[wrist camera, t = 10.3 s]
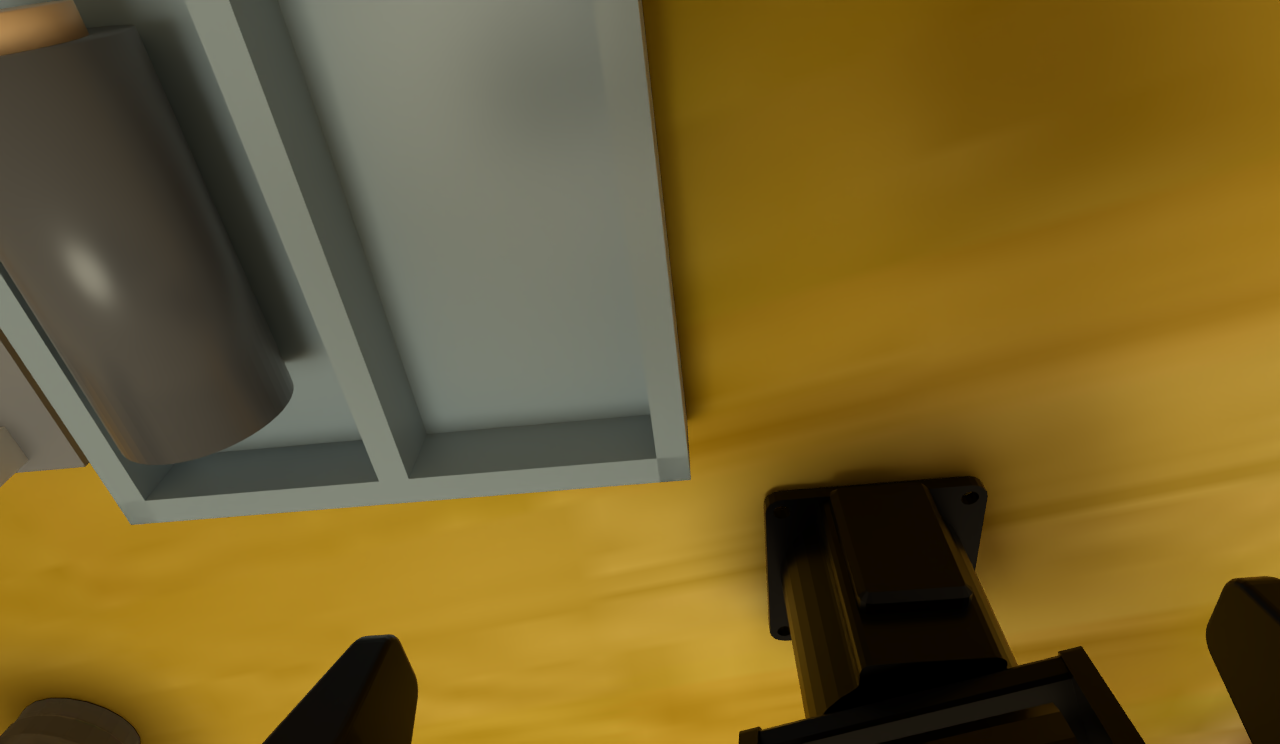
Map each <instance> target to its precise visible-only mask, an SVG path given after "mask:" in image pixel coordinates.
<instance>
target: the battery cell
mask: <svg viewBox="0 0 1280 744" xmlns="http://www.w3.org/2000/svg"><path fill="white" fill-rule="evenodd" d="M0 261H1V263H2V264H3V266H4V267H5V269H6V271H7V272H8V274H9V275H10V277H11V279H12V280H13V282H14V283H15V285H16V286H17V288H18V290H19V291H20V293H21V294H22V296H23V298H24V299H25V301H26V302H27V304H28V306H29V307H30V309H31V310H32V312H33V313H34V315H35V317H36V318H37V320H38V321H39V323H40V325H41V326H42V328H43V329H44V331H45V333H46V334H47V336H48V337H49V339H50V340H51V342H52V344H53V345H54V347H55V348H56V350H57V352H58V353H59V355H60V356H61V358H62V360H63V361H64V363H65V364H66V366H67V367H68V369H69V371H70V372H71V374H72V375H73V377H74V379H75V380H76V382H77V383H78V385H79V387H80V388H81V390H82V391H83V393H84V394H85V396H86V398H87V399H88V401H89V402H90V404H91V406H92V407H93V409H94V410H95V412H96V414H97V415H98V417H99V418H100V420H101V421H102V423H103V425H104V426H105V428H106V429H107V431H108V433H109V434H110V436H111V437H112V439H113V441H114V442H115V444H116V445H117V447H118V449H119V450H120V452H121V453H122V455H123V456H124V457H126V458H127V459H129V460H130V461H133V462H136V463H139V464H146V465H166V464H175V463H181V462H186V461H190V460H194V459H198V458H201V457H205V456H208V455H210V454H213V453H216V452H219V451H221V450H223V449H226V448H228V447H230V446H232V445H235V444H237V443H239V442H241V441H243V440H244V439H246V438H248V437H250V436H251V435H253V434H255V433H256V432H258V431H259V430H261V429H262V428H263V427H265V426H266V425H267V424H269V423H270V422H271V421H272V420H273V419H275V418H276V417H277V416H278V415H279V414H280V413H281V412H282V411H283V410H284V408H285V407H286V406H287V404H288V403H289V401H290V399H291V397H292V394H293V391H294V385H293V381H292V379H291V376H290V374H289V372H288V369H287V367H286V365H285V363H284V360H283V358H282V356H281V354H280V351H279V349H278V347H277V345H276V342H275V340H274V338H273V336H272V333H271V331H270V329H269V327H268V324H267V322H266V320H265V318H264V315H263V313H262V311H261V309H260V306H259V304H258V302H257V299H256V297H255V295H254V293H253V290H252V288H251V286H250V284H249V281H248V279H247V277H246V275H245V272H244V270H243V268H242V266H241V263H240V261H239V259H238V257H237V254H236V252H235V250H234V248H233V245H232V243H231V241H230V239H229V236H228V234H227V232H226V229H225V227H224V225H223V223H222V220H221V218H220V216H219V214H218V211H217V209H216V207H215V205H214V202H213V200H212V198H211V196H210V193H209V191H208V189H207V187H206V184H205V182H204V180H203V178H202V175H201V173H200V171H199V169H198V166H197V164H196V162H195V159H194V157H193V155H192V153H191V150H190V148H189V146H188V144H187V141H186V139H185V137H184V135H183V132H182V130H181V128H180V126H179V123H178V121H177V119H176V117H175V114H174V112H173V110H172V108H171V105H170V103H169V101H168V99H167V96H166V94H165V92H164V89H163V87H162V85H161V83H160V80H159V78H158V76H157V74H156V71H155V69H154V67H153V65H152V62H151V60H150V58H149V56H148V53H147V51H146V49H145V47H144V44H143V42H142V40H141V38H140V35H139V33H138V31H137V29H136V26H135V25H112V26H102V27H94V28H86V26H85V24H84V22H83V20H82V18H81V16H80V13H79V11H78V9H77V7H76V5H75V3H74V1H73V0H59V1H51V2H43V3H36V4H29V5H22V6H16V7H10V8H3V9H0Z"/></svg>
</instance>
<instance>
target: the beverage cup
mask: <svg viewBox="0 0 1280 744" xmlns="http://www.w3.org/2000/svg"><path fill="white" fill-rule="evenodd" d="M0 744H140V737H139V736H138V734H137V732H136V731H135V729H134V728H133V727H132V726H131V725H130V724H129V723H128V722H126V721H125V720H124V719H123V718H122V717H120V716H118V715H116V714H114V713H113V712H111V711H109V710H107V709H105V708H102V707H99V706H96V705H94V704H91V703H88V702H83V701H78V700H72V699H54V698H50V699H45V700H40V701H36V702H34V703H32V704H31V705H29V706H28V707H26V708H25V709H24V711H23V712H22V713H21V715H20V716H19V717H18V719H17V720H16V721H15V722H14V723H13V724H11V725H10V726H9V727H8V729H7V730H6V731H5V732H4V733H3V734H2V735H1V736H0Z"/></svg>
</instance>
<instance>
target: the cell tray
mask: <svg viewBox="0 0 1280 744" xmlns="http://www.w3.org/2000/svg"><path fill="white" fill-rule="evenodd" d="M51 1H59V0H0V9H3V8H10V7H16V6H22V5H29V4H36V3H43V2H51ZM73 1H74V3H75V5H76V7H77V9H78V11H79V13H80V16H81V18H82V20H83V22H84V24H85V26H86V28H94V27H102V26H112V25H135V26H136V29H137V31H138V33H139V35H140V38H141V40H142V42H143V44H144V47H145V49H146V51H147V53H148V56H149V58H150V60H151V62H152V65H153V67H154V69H155V71H156V74H157V76H158V78H159V80H160V83H161V85H162V87H163V89H164V92H165V94H166V96H167V99H168V101H169V103H170V105H171V108H172V110H173V112H174V114H175V117H176V119H177V121H178V123H179V126H180V128H181V130H182V132H183V135H184V137H185V139H186V141H187V144H188V146H189V148H190V150H191V153H192V155H193V157H194V159H195V162H196V164H197V166H198V169H199V171H200V173H201V175H202V178H203V180H204V182H205V184H206V187H207V189H208V191H209V193H210V196H211V198H212V200H213V202H214V205H215V207H216V209H217V211H218V214H219V216H220V218H221V220H222V223H223V225H224V227H225V229H226V232H227V234H228V236H229V239H230V241H231V243H232V245H233V248H234V250H235V252H236V254H237V257H238V259H239V261H240V263H241V266H242V268H243V270H244V272H245V275H246V277H247V279H248V281H249V284H250V286H251V288H252V290H253V293H254V295H255V297H256V299H257V302H258V304H259V306H260V309H261V311H262V313H263V315H264V318H265V320H266V322H267V324H268V327H269V329H270V331H271V333H272V336H273V338H274V340H275V342H276V345H277V347H278V349H279V351H280V354H281V356H282V358H283V360H284V363H285V365H286V367H287V369H288V372H289V374H290V376H291V379H292V381H293V385H294V391H293V394H292V397H291V399H290V401H289V403H288V404H287V406H286V407H285V408H284V410H283V411H282V412H281V413H280V414H279V415H278V416H277V417H276V418H275V419H273V420H272V421H271V422H270V423H269V424H267V425H266V426H265V427H263V428H262V429H261V430H259V431H258V432H256V433H255V434H253V435H251V436H250V437H248V438H246V439H244V440H243V441H241V442H239V443H237V444H235V445H232V446H230V447H228V448H226V449H223V450H221V451H219V452H216V453H213V454H210V455H208V456H205V457H201V458H198V459H194V460H190V461H186V462H181V463H175V464H166V465H146V464H139V463H136V462H133V461H130V460H129V459H127V458H126V457H124V456H123V455H122V453H121V452H120V450H119V449H118V447H117V445H116V444H115V442H114V441H113V439H112V437H111V436H110V434H109V433H108V431H107V429H106V428H105V426H104V425H103V423H102V421H101V420H100V418H99V417H98V415H97V414H96V412H95V410H94V409H93V407H92V406H91V404H90V402H89V401H88V399H87V398H86V396H85V394H84V393H83V391H82V390H81V388H80V387H79V385H78V383H77V382H76V380H75V379H74V377H73V375H72V374H71V372H70V371H69V369H68V367H67V366H66V364H65V363H64V361H63V360H62V358H61V356H60V355H59V353H58V352H57V350H56V348H55V347H54V345H53V344H52V342H51V340H50V339H49V337H48V336H47V334H46V333H45V331H44V329H43V328H42V326H41V325H40V323H39V321H38V320H37V318H36V317H35V315H34V313H33V312H32V310H31V309H30V307H29V306H28V304H27V302H26V301H25V299H24V298H23V296H22V294H21V293H20V291H19V290H18V288H17V286H16V285H15V283H14V282H13V280H12V279H11V277H10V275H9V274H8V272H7V271H6V269H5V267H4V266H3V264H2V263H1V261H0V328H1V330H2V331H3V333H4V334H5V336H6V337H7V339H8V340H9V342H10V343H11V345H12V346H13V348H14V349H15V351H16V352H17V354H18V355H19V357H20V358H21V360H22V361H23V363H24V364H25V366H26V367H27V369H28V370H29V372H30V373H31V375H32V376H33V378H34V379H35V381H36V382H37V384H38V385H39V387H40V388H41V390H42V391H43V393H44V394H45V396H46V397H47V399H48V400H49V402H50V403H51V405H52V406H53V408H54V409H55V411H56V412H57V414H58V415H59V417H60V418H61V420H62V421H63V423H64V424H65V426H66V427H67V429H68V430H69V432H70V433H71V435H72V436H73V438H74V439H75V441H76V442H77V444H78V445H79V447H80V448H81V450H82V451H83V453H84V455H85V456H86V458H87V459H88V461H89V462H90V464H91V465H92V467H93V468H94V470H95V471H96V473H97V474H98V476H99V477H100V479H101V480H102V482H103V483H104V485H105V486H106V488H107V489H108V491H109V492H110V494H111V495H112V497H113V498H114V500H115V501H116V503H117V504H118V506H119V507H120V509H121V510H122V512H123V513H124V515H125V516H126V518H127V519H128V521H129V522H130V524H131V525H134V524H146V523H159V522H171V521H184V520H196V519H208V518H221V517H233V516H246V515H258V514H271V513H283V512H295V511H308V510H320V509H333V508H345V507H358V506H370V505H382V504H395V503H407V502H420V501H432V500H445V499H457V498H469V497H482V496H494V495H507V494H519V493H532V492H544V491H556V490H569V489H581V488H594V487H606V486H619V485H631V484H643V483H656V482H668V481H681V480H691V476H690V460H689V443H688V426H687V415H686V406H685V396H684V387H683V378H682V369H681V359H680V350H679V341H678V331H677V322H676V313H675V304H674V294H673V285H672V276H671V266H670V257H669V248H668V239H667V229H666V220H665V211H664V201H663V192H662V183H661V174H660V164H659V155H658V146H657V136H656V127H655V118H654V109H653V99H652V90H651V81H650V71H649V62H648V53H647V44H646V34H645V25H644V16H643V6H642V0H73Z"/></svg>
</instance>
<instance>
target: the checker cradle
mask: <svg viewBox="0 0 1280 744" xmlns="http://www.w3.org/2000/svg"><path fill="white" fill-rule="evenodd" d="M88 463H89V461H88V459H87V458H86V456H85V455H84V453H83V451H82V450H81V448H80V447H79V445H78V444H77V442H76V441H75V439H74V438H73V436H72V435H71V433H70V432H69V430H68V429H67V427H66V426H65V424H64V423H63V421H62V420H61V418H60V417H59V415H58V414H57V412H56V411H55V409H54V408H53V406H52V405H51V403H50V402H49V400H48V399H47V397H46V396H45V394H44V393H43V391H42V390H41V388H40V387H39V385H38V384H37V382H36V381H35V379H34V378H33V376H32V375H31V373H30V372H29V370H28V369H27V367H26V366H25V364H24V363H23V361H22V360H21V358H20V357H19V355H18V354H17V352H16V351H15V349H14V348H13V346H12V345H11V343H10V342H9V340H8V339H7V337H6V336H5V334H4V333H3V331H2V330H1V328H0V487H1V486H2V485H3V484H4V483H5V482H6V481H7V480H8V479H9V478H10V477H11V476H12V475H13V474H15V473H18V472H30V471H41V470H53V469H64V468H76V467H85V466H86V465H87V464H88Z"/></svg>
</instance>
